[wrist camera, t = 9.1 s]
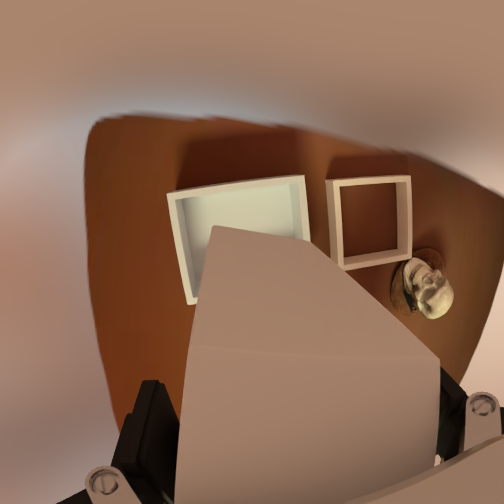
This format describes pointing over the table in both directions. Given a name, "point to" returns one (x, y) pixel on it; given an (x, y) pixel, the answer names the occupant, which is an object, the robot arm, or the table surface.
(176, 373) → the table surface
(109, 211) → the table surface
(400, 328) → the milk carton
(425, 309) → the skull
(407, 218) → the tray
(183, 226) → the tub
